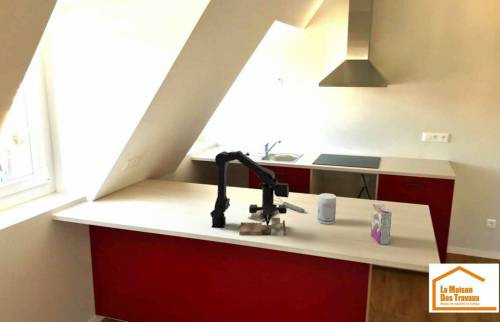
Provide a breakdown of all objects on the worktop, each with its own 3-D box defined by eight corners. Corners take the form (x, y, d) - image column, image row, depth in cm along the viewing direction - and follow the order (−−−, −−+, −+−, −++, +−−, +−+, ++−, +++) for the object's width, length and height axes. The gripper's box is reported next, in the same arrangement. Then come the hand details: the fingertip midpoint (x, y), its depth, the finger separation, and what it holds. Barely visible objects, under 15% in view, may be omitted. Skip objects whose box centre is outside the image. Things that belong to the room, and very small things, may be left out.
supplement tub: (316, 218, 208) (317, 193, 205) (333, 218, 208) (334, 193, 205) (319, 224, 198) (320, 198, 195) (337, 224, 198) (338, 198, 195)
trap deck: (239, 235, 186) (239, 228, 185) (241, 225, 198) (240, 219, 197) (285, 235, 185) (285, 229, 184) (284, 226, 196) (284, 220, 196)
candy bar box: (369, 235, 185) (372, 203, 181) (379, 235, 185) (382, 203, 182) (379, 245, 174) (381, 211, 171) (389, 244, 174) (392, 211, 171)
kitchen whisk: (303, 215, 213) (303, 205, 212) (260, 202, 237) (260, 192, 235) (309, 212, 217) (309, 202, 216) (267, 200, 241) (267, 190, 240)
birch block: (271, 228, 188) (271, 220, 187) (271, 225, 193) (271, 217, 192) (280, 229, 188) (280, 220, 187) (279, 225, 192) (280, 217, 191)
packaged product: (262, 214, 202) (247, 211, 207) (262, 223, 203) (247, 219, 208) (279, 205, 216) (264, 202, 222) (278, 213, 217) (264, 210, 223)
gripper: (248, 200, 180) (248, 230, 183) (287, 201, 179) (286, 231, 182) (249, 193, 190) (249, 222, 194) (286, 194, 190) (285, 223, 193)
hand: (267, 224), depth 190 cm, fingers closed
